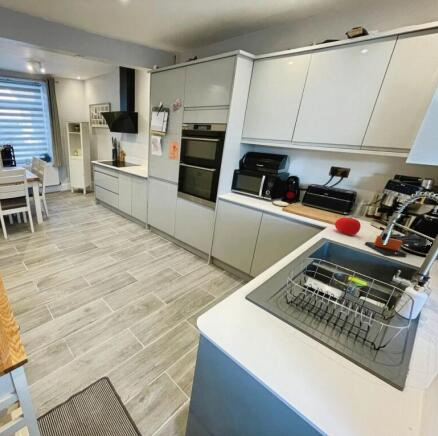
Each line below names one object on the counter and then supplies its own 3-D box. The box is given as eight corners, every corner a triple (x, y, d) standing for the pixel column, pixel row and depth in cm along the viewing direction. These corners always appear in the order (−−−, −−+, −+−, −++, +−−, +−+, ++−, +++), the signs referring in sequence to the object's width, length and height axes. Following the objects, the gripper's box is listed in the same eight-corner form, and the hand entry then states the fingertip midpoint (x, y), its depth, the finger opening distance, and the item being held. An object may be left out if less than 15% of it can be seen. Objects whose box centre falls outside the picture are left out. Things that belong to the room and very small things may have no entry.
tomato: (351, 238, 159) (358, 222, 155) (329, 230, 171) (334, 215, 167) (361, 235, 165) (367, 220, 161) (339, 228, 176) (344, 213, 172)
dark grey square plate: (409, 257, 137) (410, 254, 136) (382, 255, 137) (384, 252, 136) (385, 245, 151) (386, 242, 150) (361, 243, 151) (362, 240, 151)
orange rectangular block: (397, 249, 142) (401, 240, 140) (398, 250, 140) (402, 241, 138) (373, 244, 147) (377, 235, 144) (374, 245, 145) (378, 236, 143)
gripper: (428, 251, 139) (387, 248, 140) (406, 241, 152) (368, 238, 152) (434, 239, 137) (392, 236, 137) (411, 230, 149) (373, 227, 149)
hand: (380, 237), depth 145 cm, fingers closed
